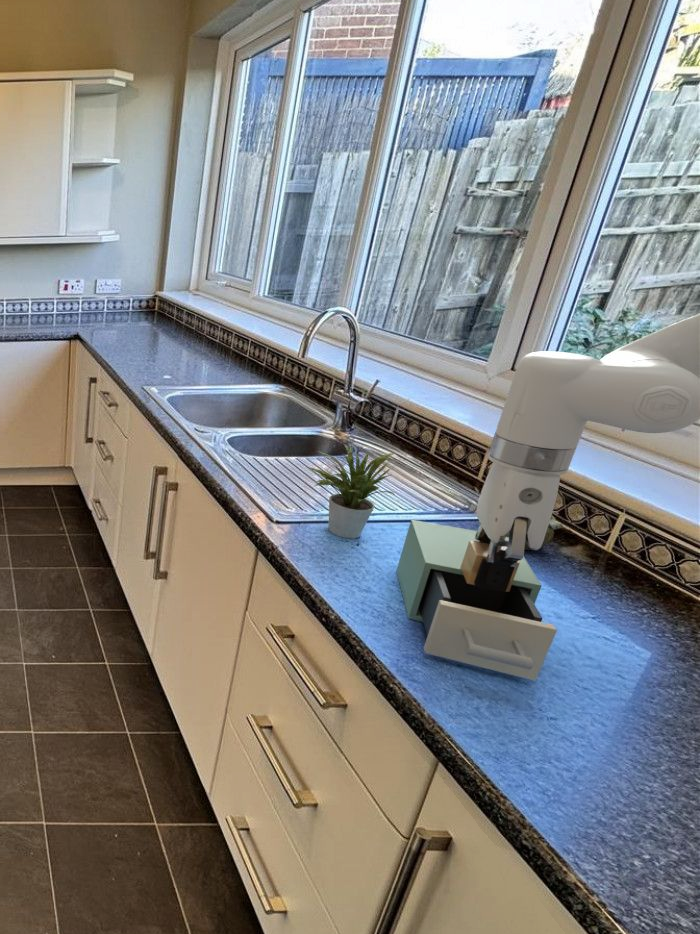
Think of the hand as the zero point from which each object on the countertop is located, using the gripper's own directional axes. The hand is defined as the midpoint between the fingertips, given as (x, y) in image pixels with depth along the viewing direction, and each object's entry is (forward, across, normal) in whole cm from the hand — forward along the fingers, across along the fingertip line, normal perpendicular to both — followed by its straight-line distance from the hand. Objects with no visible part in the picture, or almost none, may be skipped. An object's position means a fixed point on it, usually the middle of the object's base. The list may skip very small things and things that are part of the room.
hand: (484, 577), depth 83 cm
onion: (+10, +36, -14) cm, 40 cm away
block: (0, 0, 0) cm, 0 cm away
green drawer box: (+10, +9, 0) cm, 13 cm away
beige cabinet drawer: (+9, -4, 0) cm, 10 cm away
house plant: (+10, +29, +13) cm, 33 cm away
